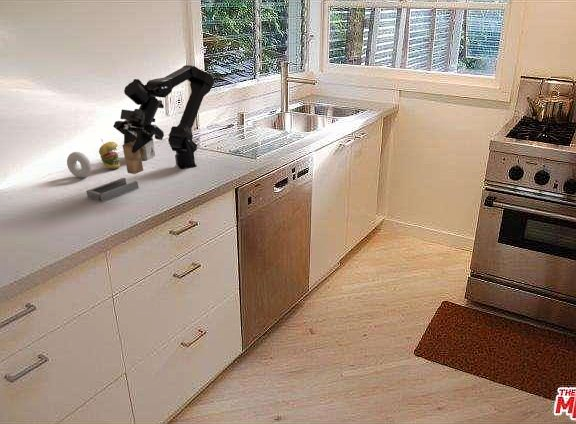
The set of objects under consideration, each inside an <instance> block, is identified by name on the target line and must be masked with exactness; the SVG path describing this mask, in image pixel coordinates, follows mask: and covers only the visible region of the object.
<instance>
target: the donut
mask: <svg viewBox="0 0 576 424" xmlns="http://www.w3.org/2000/svg"><path fill="white" fill-rule="evenodd" d="M77 162H78V163H80V164H79V165H80V167H81V168H80V167H79V166H78V163H77ZM66 165H67V168H68V170H69V172H70V173H71V174H72V175H73V176H75V177H77V178H80V179H82V178H86V177H88V176H89V175H90V173H91V170H92V164H91V161H90V160H89V158H88V156H86V155H85V154H84V153H83V152H80V151H73V152H71V153H70V154H69V155H68V156H67V159H66Z"/></svg>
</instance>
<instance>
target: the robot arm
mask: <svg viewBox="0 0 576 424" xmlns="http://www.w3.org/2000/svg"><path fill="white" fill-rule="evenodd" d="M186 81H188V82H189V86H190V91H191V92H190V95H189V97H188V100H187V102H186V105H185V107H184V110H183V113H182V116H181V118H180V121H179V123H178V124H177V126H176V125H175V126H174V125H173V126H172V127H171V128H170V132H169V134H168V140H167V141H168V144H169V146H170V148H171V150H172V151H173V152H175V154H174V158H175V165H176V166H177V167H178V168H179V169H180V170H183V169H188V168H189V169H190V168H193V167H197V164H196V161H195V160H196V159H195V152H196V151H197V149H198V144H197V143H196V142H195V141H194V140H193V138H194V136H193V135H194V134H193V131H192V129H193V126H194V124H195V120H196V118H197V115H198V113H199V110H200V107H201V105H202V102H203V99H204V97H205V96H206V95H207V94H209V93H210V91H211V89H212V88H213V85H214V83H215V80H214V77H213V75H212V74H211V73H210V72H209V73H208V72H207V71H204V70H202V69H200V68H198V67H197V66H195V65H191V64H190V65H189V64H185V65H183V66H182V67H181V68H179V69H177V70H175V71H173V72H171V73H170V74H168V75H166V76H164V77H159V78H153V79H149V80H147V82H146V84H144V83H143V82H142V81H141V80H140V79H139V78H134V79H133V81H131V82H130V83H128V84H127V85H125V87H124V90H123V92H124V94H125V96H127V97H128V98H129V99H130V100H131V101H132V102H133V103H134V104H136V105H138V106H139V107H138V108H135V109H134V110H130V109H121V113H120V120H116V121H114V124H113V126H112V127H113V128H115V130H116V131H118V132H119V133H120V134H122V135H123V145H124V144H127V143H129V142H134V141H135V140H136V141H135V143H134V146H133V149H132V152H133V153H135V152H136V151H138V150H139V149H140V148H141V147H143V146H144V145H145V144H147V143H148V142H150V141H153V142H154V139H156V140H159V141H162V140H163V139H164V137H165V136H164V135H165V134H164V131H163V130H162V129H161V128H159V126H157V125H156V124H152V123H156V118H155V116H156V114H157V112H158V110H159V109H164V106H165V105H164V103H163V101H162V99H163V98H164V99H165V98H166V97H168V96H169V95H170V94H171V93H172V91H173V89H174V88H175V87H177V86H179V85H181V84H182V83H184V82H186ZM158 98H162V99H161V100H160V99H158ZM125 120H129V121H128V123H130V124H132V126H130V125H129V124H128V123H126V122H125ZM134 132H137V137H136V136H134ZM152 137H153V139H152Z"/></svg>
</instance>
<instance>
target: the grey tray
mask: <svg viewBox="0 0 576 424" xmlns="http://www.w3.org/2000/svg"><path fill="white" fill-rule="evenodd" d="M135 189H136V190H138V189H140V188H139V181H136V180H134V181H132V182H129V183H127V178H125V177H122V178H119V179H117V180H113V181H110V182H106V183H105V184H102V185H101V184H100V185H99V186H96V187H94V188H91V189H87V190H86V196H87V199H91V200H93V199H94V201H96V200H97V202H99V201H100V203H104V202H106V200H107V201H109V199H110V200H112V199H114V198H117V197H119V196H122V194H123V195H125V194H128V193H131V192H134V191H135ZM130 191H131V192H130ZM103 201H104V202H103Z"/></svg>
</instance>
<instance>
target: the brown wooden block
mask: <svg viewBox="0 0 576 424" xmlns="http://www.w3.org/2000/svg"><path fill="white" fill-rule="evenodd" d="M134 143H135V142H129V143H127V144H124V143H123V144H122V150H123V155H124V161H125V166H126V171H127V174H131V175H137V174H138V173H141V172H143V171H144V166H143V162H142V161H143V160H142V159H141V154H140V149H139V150H138V151H136V152H135V153H133V152H132V149H133V146H134Z"/></svg>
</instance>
